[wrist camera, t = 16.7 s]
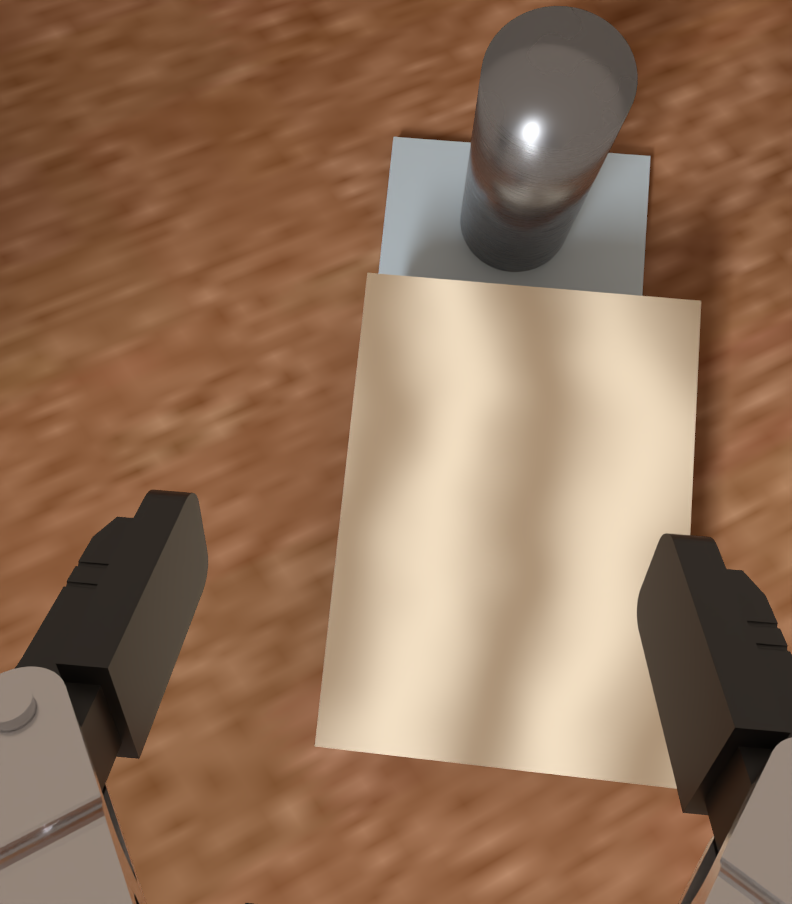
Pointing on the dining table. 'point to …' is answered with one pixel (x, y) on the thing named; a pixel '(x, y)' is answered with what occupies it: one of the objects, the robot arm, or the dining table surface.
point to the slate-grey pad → (448, 257)
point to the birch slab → (508, 525)
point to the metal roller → (542, 132)
